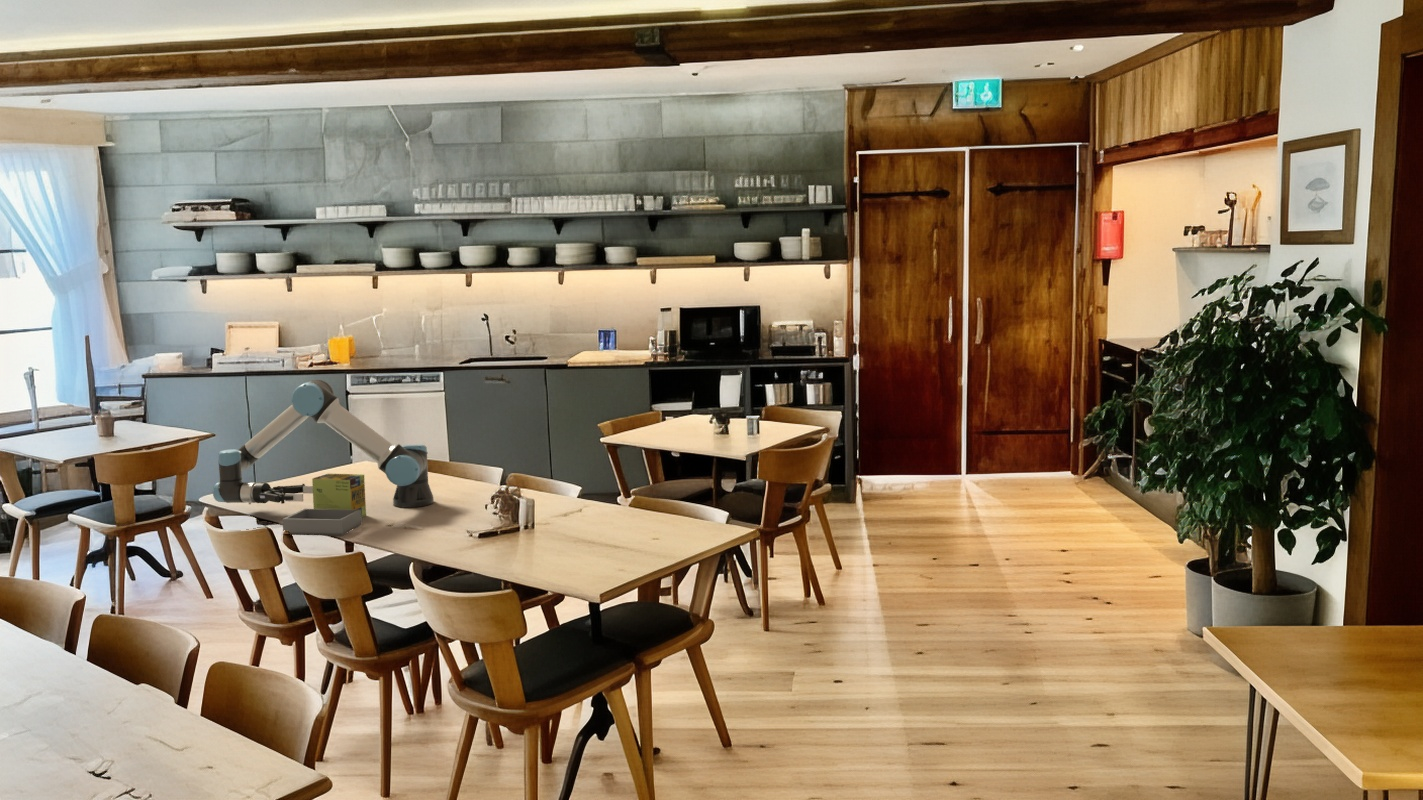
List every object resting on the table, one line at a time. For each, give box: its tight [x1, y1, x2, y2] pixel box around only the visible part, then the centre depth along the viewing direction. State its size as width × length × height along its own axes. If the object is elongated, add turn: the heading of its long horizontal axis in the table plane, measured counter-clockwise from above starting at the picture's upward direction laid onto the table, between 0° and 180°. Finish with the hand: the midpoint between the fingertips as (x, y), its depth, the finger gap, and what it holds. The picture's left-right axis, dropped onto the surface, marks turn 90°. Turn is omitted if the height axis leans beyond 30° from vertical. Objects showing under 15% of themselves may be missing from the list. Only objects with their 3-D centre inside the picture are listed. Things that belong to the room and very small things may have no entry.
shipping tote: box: [281, 508, 363, 537], centre depth 377 cm, size 21×16×6 cm
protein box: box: [311, 473, 367, 518], centre depth 394 cm, size 10×15×16 cm
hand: (311, 493), depth 395 cm, fingers open, 13 cm apart
